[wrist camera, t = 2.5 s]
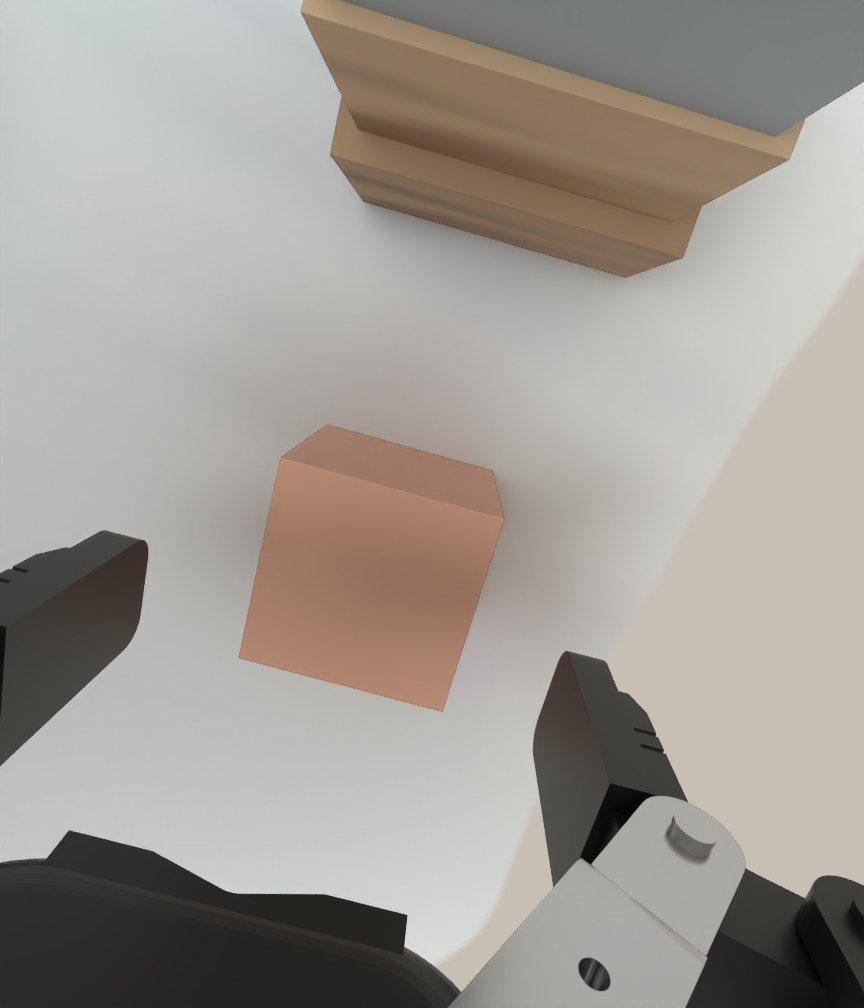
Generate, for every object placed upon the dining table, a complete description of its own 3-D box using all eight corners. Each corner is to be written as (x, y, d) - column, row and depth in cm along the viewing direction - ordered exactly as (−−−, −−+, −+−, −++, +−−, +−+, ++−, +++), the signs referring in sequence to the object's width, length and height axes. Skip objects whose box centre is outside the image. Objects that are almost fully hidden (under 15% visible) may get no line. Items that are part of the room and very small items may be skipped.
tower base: (623, 278, 18) (682, 257, 14) (364, 201, 18) (329, 154, 13) (729, -34, 16) (843, -188, 11) (437, -124, 16) (427, -321, 11)
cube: (446, 618, 22) (442, 711, 16) (292, 577, 21) (238, 658, 16) (492, 470, 20) (504, 519, 15) (327, 424, 20) (280, 457, 15)
